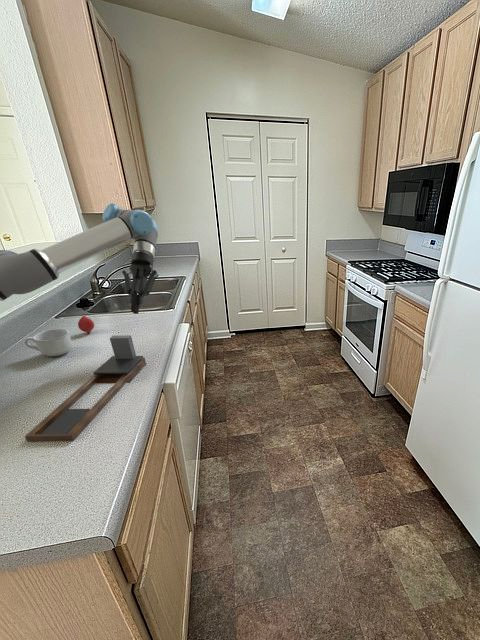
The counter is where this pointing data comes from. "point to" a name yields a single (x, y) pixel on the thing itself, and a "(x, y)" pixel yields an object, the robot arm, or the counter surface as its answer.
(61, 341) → the teacup
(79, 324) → the onion
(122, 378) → the long wooden tray frame
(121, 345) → the lid
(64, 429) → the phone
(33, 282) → the robot arm
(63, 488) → the counter surface
